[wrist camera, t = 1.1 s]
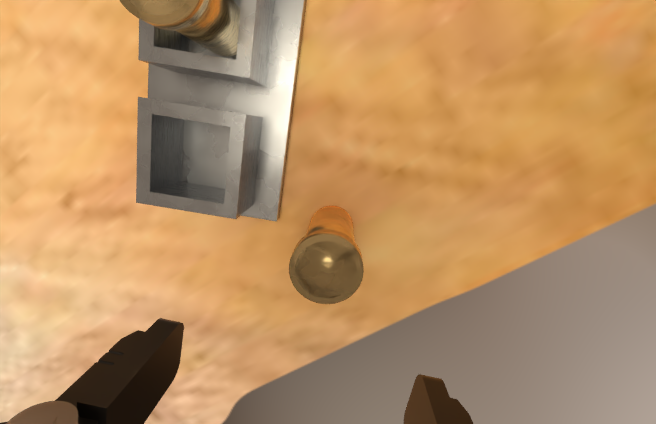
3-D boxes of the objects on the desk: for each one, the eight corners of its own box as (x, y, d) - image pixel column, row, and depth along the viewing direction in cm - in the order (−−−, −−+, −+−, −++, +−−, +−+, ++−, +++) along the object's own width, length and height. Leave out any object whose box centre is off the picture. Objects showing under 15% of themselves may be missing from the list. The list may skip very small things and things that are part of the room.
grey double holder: (309, -24, 26) (285, -131, 15) (278, 217, 31) (244, 264, 20) (159, -48, 26) (31, -171, 16) (152, 197, 31) (51, 232, 20)
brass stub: (361, 206, 31) (369, 241, 21) (352, 254, 32) (356, 309, 22) (310, 197, 31) (294, 229, 21) (302, 246, 32) (284, 297, 22)
